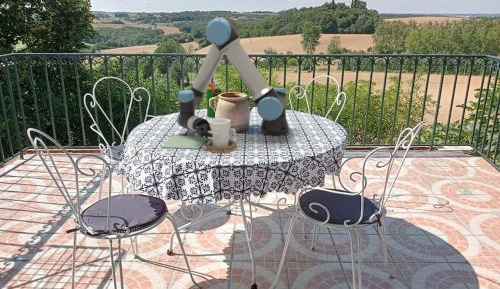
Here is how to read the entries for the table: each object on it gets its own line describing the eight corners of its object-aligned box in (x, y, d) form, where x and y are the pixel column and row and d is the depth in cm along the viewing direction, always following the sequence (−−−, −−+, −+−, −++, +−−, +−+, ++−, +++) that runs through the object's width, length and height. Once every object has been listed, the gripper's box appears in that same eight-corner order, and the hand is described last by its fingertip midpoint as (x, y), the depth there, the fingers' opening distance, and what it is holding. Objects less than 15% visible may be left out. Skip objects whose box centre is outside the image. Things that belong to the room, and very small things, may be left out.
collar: (237, 144, 188) (237, 139, 187) (232, 153, 175) (232, 148, 174) (210, 143, 190) (210, 138, 189) (203, 152, 177) (203, 147, 176)
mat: (208, 137, 198) (208, 136, 198) (198, 149, 181) (198, 148, 181) (174, 136, 201) (174, 135, 200) (161, 147, 184) (161, 146, 184)
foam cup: (223, 152, 176) (222, 124, 172) (206, 149, 181) (205, 122, 177) (235, 146, 184) (234, 119, 180) (219, 143, 188) (218, 117, 184)
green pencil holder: (219, 118, 236) (217, 84, 229) (205, 117, 237) (203, 84, 231) (223, 114, 245) (222, 82, 239) (210, 113, 247) (208, 81, 241)
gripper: (216, 128, 201) (245, 137, 185) (179, 136, 187) (206, 147, 171) (216, 113, 199) (244, 122, 182) (178, 121, 185) (205, 131, 169)
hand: (226, 134), depth 177 cm, fingers closed on foam cup, 9 cm apart
